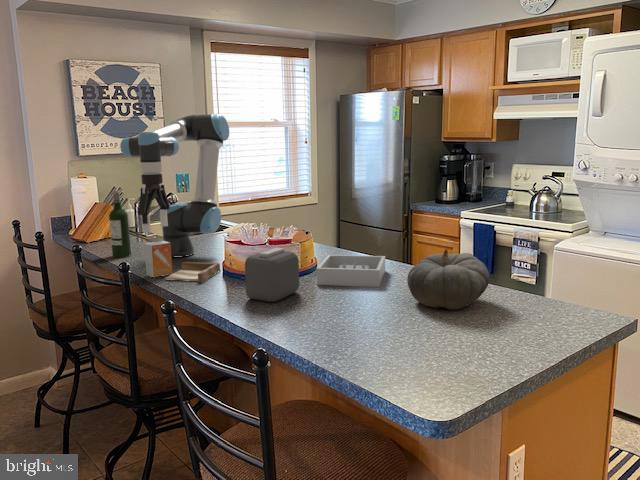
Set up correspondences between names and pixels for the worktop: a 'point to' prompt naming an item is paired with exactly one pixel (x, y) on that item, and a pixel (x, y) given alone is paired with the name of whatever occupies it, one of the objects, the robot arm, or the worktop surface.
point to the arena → (195, 271)
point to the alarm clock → (271, 275)
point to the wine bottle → (119, 229)
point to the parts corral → (351, 271)
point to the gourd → (448, 280)
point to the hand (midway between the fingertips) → (156, 229)
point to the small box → (158, 258)
